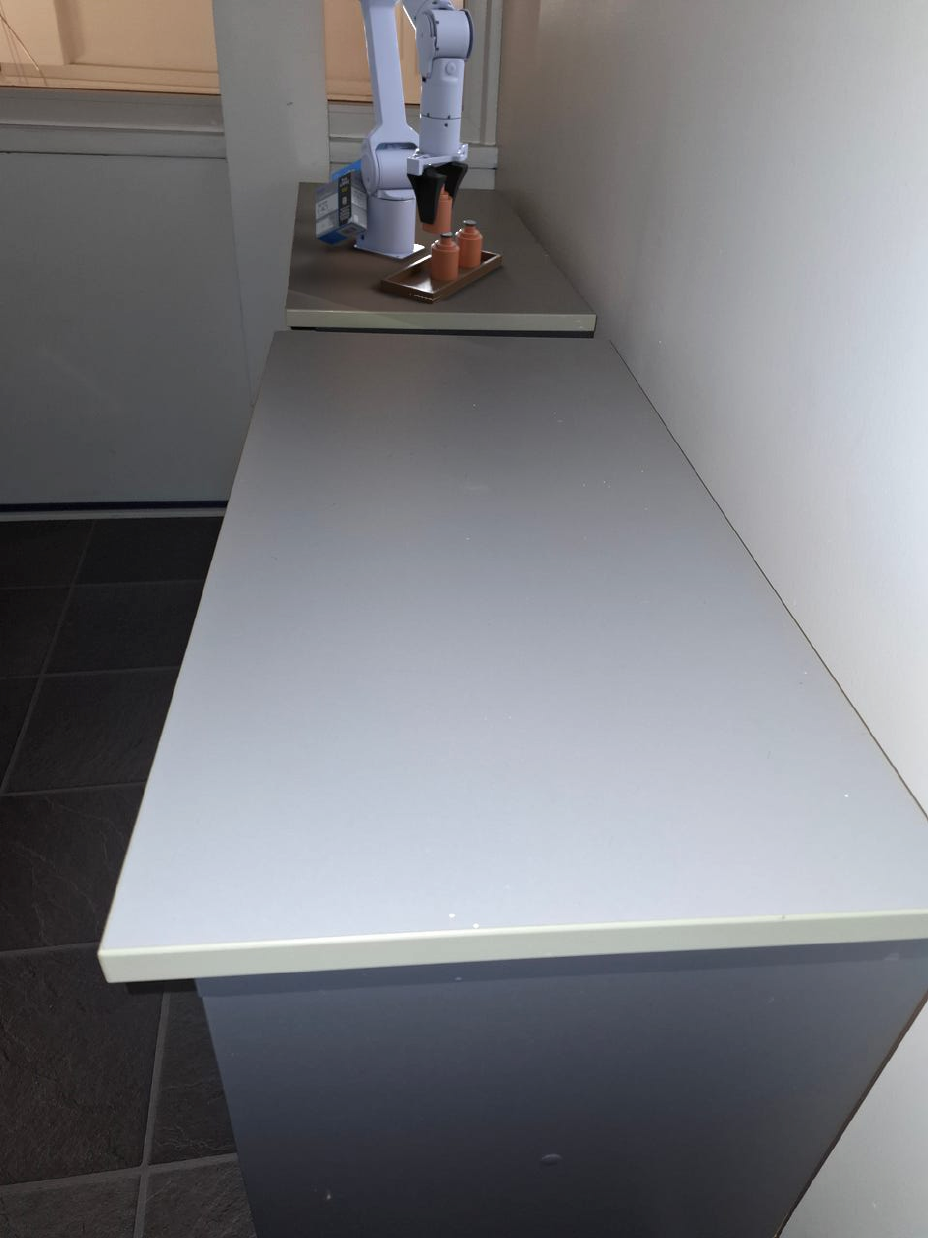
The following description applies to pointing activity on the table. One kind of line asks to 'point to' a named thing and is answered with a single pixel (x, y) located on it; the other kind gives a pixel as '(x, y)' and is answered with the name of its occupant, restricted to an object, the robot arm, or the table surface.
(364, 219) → the ink cartridge box
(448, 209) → the loose bottle
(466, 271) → the tray
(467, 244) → the bottle back
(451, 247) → the bottle middle
